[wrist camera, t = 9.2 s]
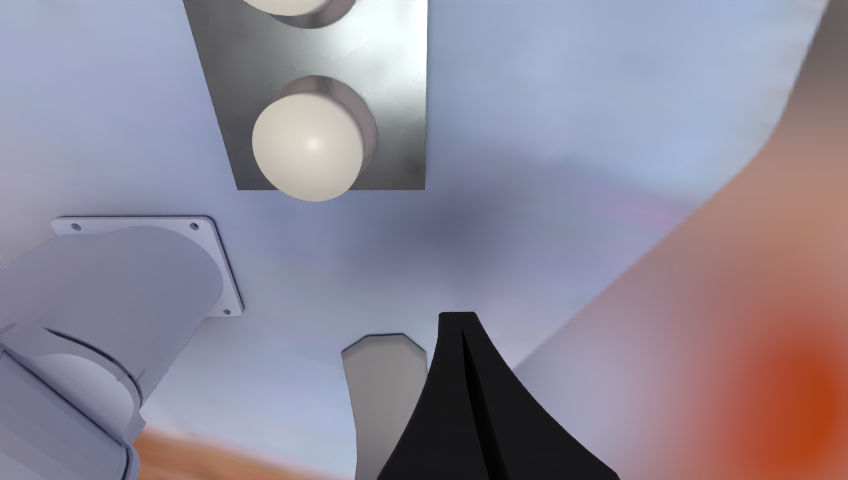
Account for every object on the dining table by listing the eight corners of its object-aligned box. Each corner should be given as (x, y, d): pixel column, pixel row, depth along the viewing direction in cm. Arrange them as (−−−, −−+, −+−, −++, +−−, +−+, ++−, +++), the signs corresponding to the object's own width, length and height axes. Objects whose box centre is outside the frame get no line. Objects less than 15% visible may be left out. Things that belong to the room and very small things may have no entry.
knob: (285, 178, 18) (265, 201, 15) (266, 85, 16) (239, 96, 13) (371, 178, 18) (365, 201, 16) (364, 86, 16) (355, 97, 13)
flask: (326, 346, 28) (288, 486, 19) (409, 321, 27) (408, 458, 18) (365, 397, 31) (348, 534, 23) (440, 377, 30) (452, 514, 22)
